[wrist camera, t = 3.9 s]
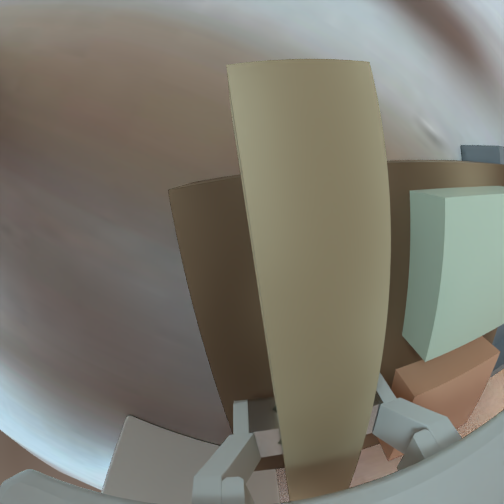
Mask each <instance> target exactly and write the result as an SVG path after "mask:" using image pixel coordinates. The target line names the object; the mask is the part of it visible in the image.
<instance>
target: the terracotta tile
mask: <svg viewBox="0 0 504 504" xmlns="http://www.w3.org/2000/svg"><path fill="white" fill-rule="evenodd" d="M499 354H500V351H499V350H498V349H497V348H496V347H494V346H493V345H492V344H491V343H490V342H489V341H488V340H486V339H485V338H484V337H483V336H481V337H479V338H477V339H475V340H473V341H471V342H469V343H467V344H465V345H463V346H461V347H458V348H456V349H454V350H452V351H450V352H448V353H445V354H443V355H441V356H438V357H436V358H434V359H431V360H429V361H426V362H425V361H424V360H423V359H422V360H420V361H417V362H415V363H412V364H409V365H406V366H404V367H401V368H398V369H396V370H395V375H394V379H393V383H392V388H391V390H392V392H393V393H394V395H395V396H396V398H403V399H405V400H407V401H410V402H412V403H414V404H417V405H419V406H422V407H424V408H426V409H429V410H431V411H434V412H436V413H439V414H441V415H444V416H446V417H448V419H449V420H450V421H451V423H452V424H453V426H454V427H455V429H456V428H458V427H460V426H461V425H463V424H465V423H466V422H467V420H468V419H469V417H470V415H471V413H472V412H473V410H474V408H475V406H476V404H477V402H478V400H479V399H480V397H481V395H482V393H483V391H484V388H485V386H486V384H487V382H488V380H489V378H490V376H491V373H492V371H493V369H494V366H495V364H496V362H497V359H498V357H499ZM377 438H378V437H377ZM378 440H379V442H380V445H381V447H382V449H383V451H384V453H385V455H386V458H387V460H388V461H389V460H392V459H394V458H397V457H399V456H402V455H404V454H403V453H401V452H400V451H398V450H397V449H395V448H393V447H392V446H390V445H389V444H387V443H386V442H384V441H383V440H381V439H380V438H378Z"/></svg>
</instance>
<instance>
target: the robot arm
mask: <svg viewBox="0 0 504 504" xmlns="http://www.w3.org/2000/svg"><path fill="white" fill-rule="evenodd" d="M370 433H372V434H374V435H375V436H377V437H378V438H380V439H381V440H383V441H384V442H386V443H387V444H389V445H390V446H392V447H393V448H395V449H397V450H398V451H400V452H401V453H403V454H404V456H403V457H402V459H401V461H400V463H399V465H398V466H397V469H398V471H397V472H394V473H392V474H389V475H387V476H384V477H382V478H379V479H376V480H373V481H370V482H367V483H364V484H361V485H358V486H355V487H352V488H348V489H345V490H341V491H337V492H334V493H329V494H325V495H321V496H316V497H312V498H307V499H301V500H296V501H290V502H283V503H276V504H504V410H502V411H501V412H500V413H498V414H497V415H496V416H494V417H493V418H492V419H490V420H489V421H488V422H486V423H485V424H483V425H482V426H480V427H479V428H477V429H476V430H474V431H473V432H471V433H470V434H468V435H467V436H465V437H464V438H462V437H461V436H460V434H459V433H458V432H457V430H456V429H455V427H454V426H453V424H452V423H451V421H450V420H449V419H448V417H446V416H444V415H441V414H439V413H436V412H434V411H431V410H429V409H426V408H424V407H422V406H419V405H417V404H414V403H412V402H410V401H407V400H405V399H403V398H396V396H395V395H394V393H393V392H392V390H391V389H390V387H389V385H388V384H387V382H386V381H385V379H384V378H383V376H382V375H381V373H379V378H378V384H377V389H376V394H375V399H374V403H373V408H372V412H371V416H370V420H369V424H368V428H367V432H366V434H370ZM280 454H283V448H282V442H281V434H280V428H279V421H278V415H277V410H276V403H275V397H266V398H257V399H248V400H239V401H234V403H233V435H229V436H228V437H227V438H226V440H225V441H224V442H223V443H222V445H221V446H220V447H219V448H218V449H217V451H216V452H215V453H214V454H213V455H212V457H211V458H210V459H209V460H208V461H207V462H206V464H205V465H204V466H203V467H202V468H201V469H200V470H199V472H198V473H197V474H196V475H195V476H194V480H193V491H192V502H191V504H254V500H253V498H252V496H251V494H250V492H249V490H248V488H247V486H246V483H247V481H248V480H249V478H250V476H251V475H252V473H253V471H254V470H255V468H256V466H257V465H258V463H259V461H260V460H261V457H268V456H274V455H280ZM0 504H156V503H148V502H142V501H136V500H130V499H125V498H120V497H116V496H111V495H107V494H103V493H99V492H95V491H92V490H88V489H84V488H81V487H78V486H75V485H72V484H69V483H66V482H63V481H60V480H58V479H55V478H53V477H50V476H47V475H45V474H43V473H40V472H38V471H36V470H32V469H28V470H25V471H22V472H20V473H18V474H16V475H14V476H13V477H11V478H9V479H7V480H5V481H4V482H3V483H2V485H1V486H0Z"/></svg>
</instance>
